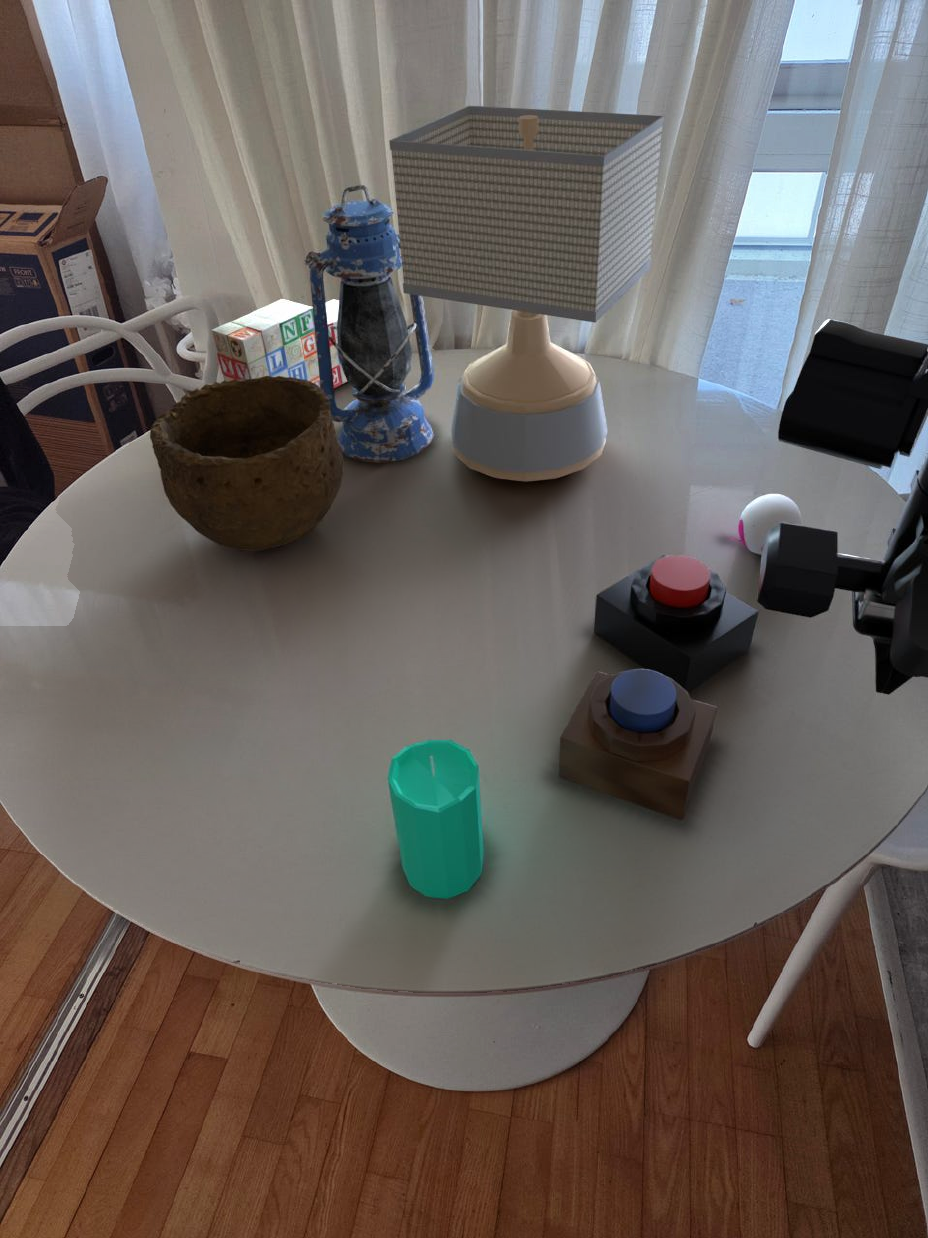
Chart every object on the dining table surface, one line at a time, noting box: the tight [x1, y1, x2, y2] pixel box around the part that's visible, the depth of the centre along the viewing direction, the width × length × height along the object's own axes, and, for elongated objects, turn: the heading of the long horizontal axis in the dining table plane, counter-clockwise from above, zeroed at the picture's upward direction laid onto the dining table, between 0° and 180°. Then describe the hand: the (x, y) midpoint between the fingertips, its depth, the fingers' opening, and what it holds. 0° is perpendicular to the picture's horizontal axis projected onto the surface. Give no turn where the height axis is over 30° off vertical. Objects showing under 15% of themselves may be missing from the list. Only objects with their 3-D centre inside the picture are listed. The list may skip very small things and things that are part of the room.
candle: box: [387, 739, 485, 900], centre depth 59 cm, size 6×6×12 cm
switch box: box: [593, 554, 760, 694], centre depth 77 cm, size 11×9×6 cm
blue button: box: [610, 668, 677, 733], centre depth 64 cm, size 5×5×2 cm
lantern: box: [303, 184, 435, 464], centre depth 101 cm, size 15×12×30 cm
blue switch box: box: [558, 670, 718, 821], centre depth 67 cm, size 10×8×6 cm
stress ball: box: [727, 493, 802, 556], centre depth 88 cm, size 8×8×7 cm
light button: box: [649, 554, 710, 608], centre depth 75 cm, size 5×5×2 cm
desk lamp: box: [389, 105, 665, 483], centre depth 94 cm, size 22×19×37 cm
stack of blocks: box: [211, 298, 348, 389], centre depth 118 cm, size 21×6×12 cm, turn 141°
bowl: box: [149, 376, 345, 552], centre depth 91 cm, size 19×19×15 cm
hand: (881, 689), depth 56 cm, fingers closed
